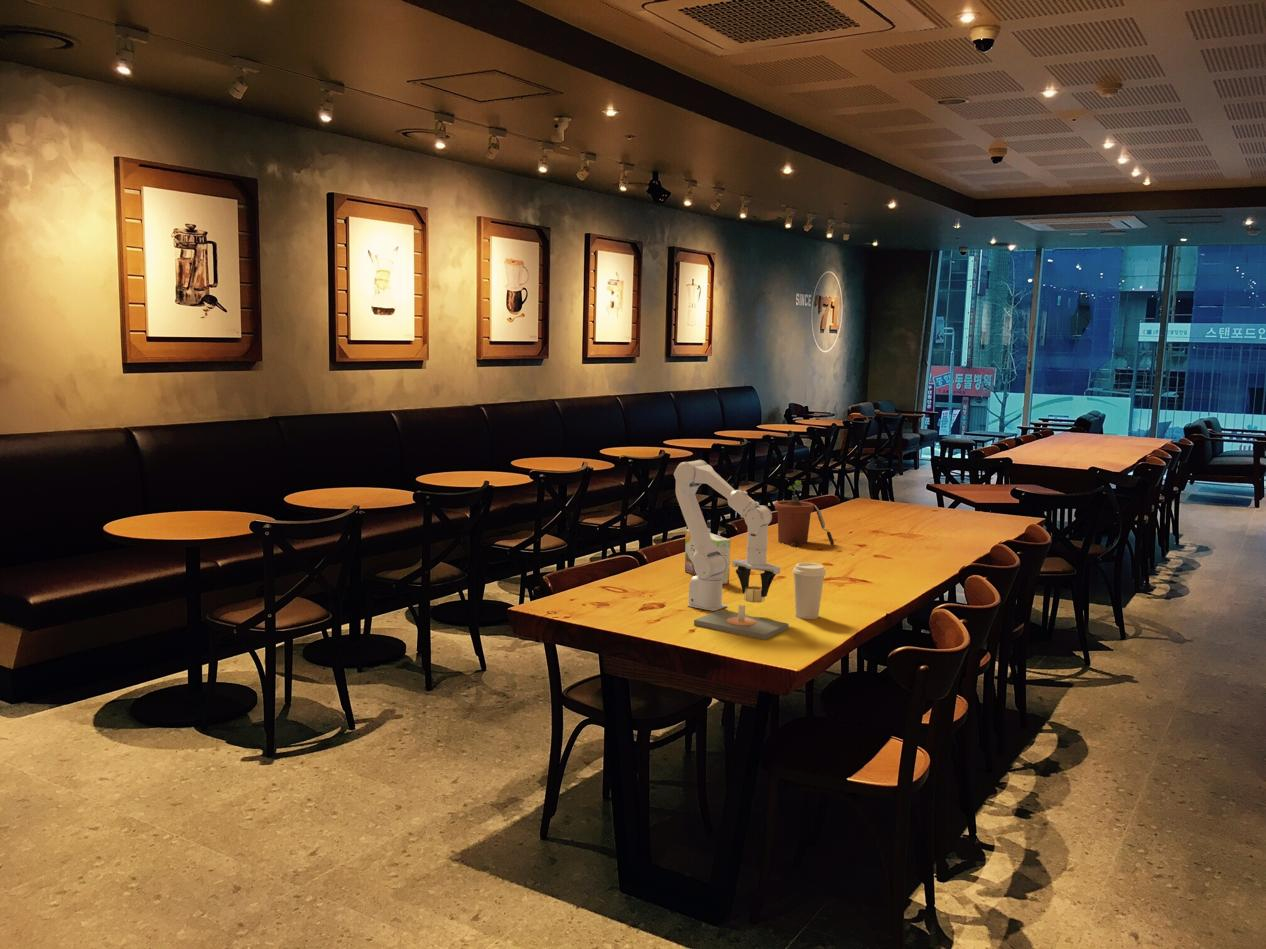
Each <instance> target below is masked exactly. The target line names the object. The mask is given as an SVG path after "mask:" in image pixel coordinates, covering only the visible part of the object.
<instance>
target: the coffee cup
mask: <svg viewBox="0 0 1266 949" xmlns="http://www.w3.org/2000/svg"><path fill="white" fill-rule="evenodd" d="M791 572H792V573H793V578H794V605H795V606H794V609H795V611H794V612H795V617H797V618H798V619H803V620H815V619H818V618H819V614H820V607H821V600H822V592H823V587H824V580H825V576H826V575H827V573H826V570H825V568H824V565H822V564H819V563H813V562H798V563H796V564H795V565H794V568H793V569H792V571H791Z"/></svg>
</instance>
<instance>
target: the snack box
mask: <svg viewBox="0 0 1266 949" xmlns="http://www.w3.org/2000/svg"><path fill="white" fill-rule="evenodd" d="M709 534H710V536H711V539H712V542H713V544H715V545H716V546H717V547H718V548H719V549H720V551H721V553H722V555H723V556H724V557H725V558H726V560H727V564H728V565H727V569H726V571H725V572H724V573H723V582H722V585H729V584H730V564H731V563H730V562H731V560H730V558H731V539H729V538H727V537H723V536H721V535H717V534H714V533H712V532H709ZM684 537H685V539H684V540H685V541H684V542H685V546H684V548H685V550H684V551H685V552H684V554H685V555H684V557H685V558H684V572H685V573H687V572H688V574H690V575H692V576H694V575H697V574H696V572H695V569H694V559H693V555H694V553H695V550H696V549H695V546H694V543H693V541H692V538H691V535H690V532H689V530H688V528H687V529H685V536H684Z"/></svg>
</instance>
